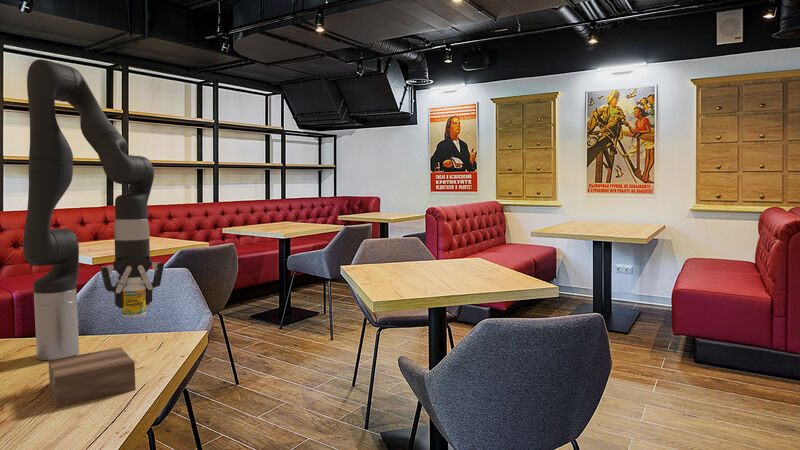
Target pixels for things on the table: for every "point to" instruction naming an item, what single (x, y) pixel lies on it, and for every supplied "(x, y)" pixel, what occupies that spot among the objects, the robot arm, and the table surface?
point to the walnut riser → (91, 376)
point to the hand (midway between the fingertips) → (133, 305)
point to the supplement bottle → (134, 298)
